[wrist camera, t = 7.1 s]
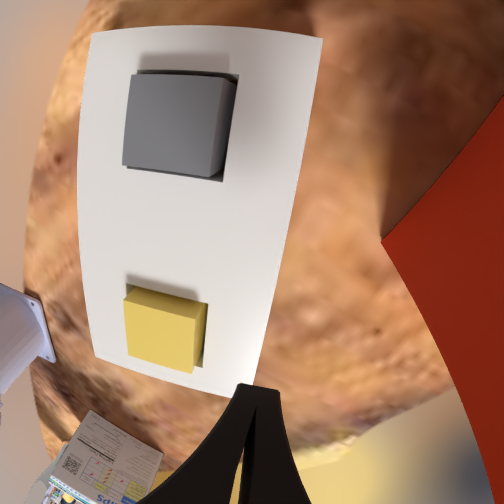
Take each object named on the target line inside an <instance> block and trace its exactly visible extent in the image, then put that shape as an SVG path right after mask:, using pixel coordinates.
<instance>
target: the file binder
mask: <svg viewBox="0 0 504 504" xmlns="http://www.w3.org/2000/svg"><path fill="white" fill-rule="evenodd" d="M381 244H382V246H383V247H384V249H385V250H386V252H387V254H388V255H389V257H390V259H391V260H392V262H393V264H394V266H395V267H396V269H397V271H398V272H399V274H400V276H401V278H402V279H403V281H404V283H405V285H406V287H407V288H408V290H409V292H410V294H411V296H412V297H413V299H414V301H415V303H416V305H417V307H418V309H419V311H420V313H421V314H422V316H423V318H424V320H425V322H426V324H427V326H428V328H429V330H430V332H431V334H432V336H433V338H434V340H435V342H436V344H437V346H438V349H439V351H440V353H441V355H442V357H443V359H444V361H445V364H446V366H447V368H448V370H449V373H450V375H451V377H452V379H453V382H454V384H455V386H456V389H457V391H458V394H459V396H460V398H461V401H462V403H463V406H464V408H465V411H466V414H467V416H468V419H469V421H470V424H471V427H472V430H473V432H474V435H475V438H476V441H477V444H478V447H479V450H480V453H481V456H482V459H483V462H484V466H485V469H486V472H487V476H488V479H489V483H490V486H491V490H492V494H493V498H494V502H495V504H504V96H503V97H502V98H501V100H500V101H499V103H498V104H497V105H496V107H495V108H494V109H493V111H492V112H491V114H490V115H489V116H488V118H487V119H486V120H485V122H484V123H483V124H482V125H481V127H480V128H479V129H478V131H477V132H476V133H475V135H474V136H473V137H472V138H471V140H470V141H469V142H468V143H467V145H466V146H465V147H464V148H463V150H462V151H461V152H460V153H459V155H458V156H457V157H456V158H455V160H454V161H453V162H452V163H451V164H450V166H449V167H448V168H447V169H446V170H445V172H444V173H443V174H442V175H441V176H440V177H439V179H438V180H437V181H436V182H435V183H434V184H433V186H432V187H431V188H430V189H429V190H428V191H427V192H426V194H425V195H424V196H423V197H422V198H421V199H420V200H419V201H418V203H417V204H416V205H415V206H414V207H413V208H412V209H411V210H410V211H409V212H408V214H407V215H406V216H405V217H404V218H403V219H402V220H401V221H400V222H399V223H398V224H397V225H396V227H395V228H394V229H393V230H392V231H391V232H390V233H389V234H388V235H387V236H386V237H385V238H384V239H383V240H382V241H381Z"/></svg>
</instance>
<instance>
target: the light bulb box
mask: <svg viewBox="0 0 504 504" xmlns="http://www.w3.org/2000/svg"><path fill="white" fill-rule="evenodd" d="M163 457H164V453H161V452H159V451H157V450H155V449H154V448H152V447H150V446H148V445H146V444H145V443H143V442H141V441H139V440H138V439H136V438H134V437H133V436H131V435H129V434H128V433H126V432H124V431H123V430H121V429H119V428H118V427H116V426H115V425H113V424H112V423H110V422H108V421H107V420H105V419H104V418H102V417H101V416H99V415H98V414H96V413H95V412H94V411H92V410H89V412H88V413H87V415H86V416H85V418H84V419H83V421H82V422H81V424H80V425H79V427H78V428H77V430H76V432H75V433H74V435H73V436H72V438H71V440H70V441H69V443H68V445H67V447H66V448H65V450H64V452H63V454H62V455H61V457H60V459H59V461H58V462H57V464H56V466H55V468H54V470H53V472H52V474H51V476H50V479H49V483H50V484H51V485H53V486H55V487H56V488H58V489H59V490H61V491H62V492H64V493H66V494H67V495H69V496H71V497H72V498H74V499H75V500H77V501H79V502H80V503H82V504H135V503H137V502H138V501H139V500H141V499H142V498H144V497H145V496H146V495H148V494H149V493H150V490H151V487H152V485H153V482H154V479H155V477H156V474H157V472H158V469H159V467H160V464H161V462H162V459H163Z"/></svg>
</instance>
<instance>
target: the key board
mask: <svg viewBox="0 0 504 504" xmlns="http://www.w3.org/2000/svg"><path fill="white" fill-rule="evenodd" d="M322 43H323V38H318V37H312V36H307V35H301V34H295V33H289V32H282V31H274V30H266V29H257V28H246V27H233V26H213V25H170V26H150V27H137V28H126V29H117V30H109V31H102V32H96V33H92V38H91V43H90V48H89V54H88V59H87V65H86V72H85V78H84V86H83V94H82V102H81V112H80V124H79V138H78V160H77V210H78V232H79V247H80V259H81V269H82V279H83V287H84V295H85V302H86V308H87V315H88V321H89V327H90V332H91V338H92V343H93V348H94V353H95V357H98V358H100V359H103V360H106V361H108V362H111V363H114V364H116V365H119V366H122V367H125V368H128V369H131V370H133V371H136V372H139V373H142V374H145V375H149V376H152V377H155V378H158V379H161V380H165V381H168V382H171V383H175V384H178V385H182V386H185V387H189V388H193V389H197V390H200V391H204V392H208V393H212V394H216V395H221V396H225V397H229V398H232V396H233V394H234V392H235V390H236V387H237V384H239V383H244V384H249V385H252V384H253V380H254V376H255V372H256V368H257V364H258V360H259V356H260V352H261V347H262V343H263V339H264V335H265V330H266V326H267V322H268V318H269V313H270V309H271V304H272V300H273V296H274V291H275V287H276V282H277V278H278V273H279V269H280V264H281V259H282V255H283V250H284V245H285V241H286V236H287V231H288V226H289V222H290V217H291V212H292V207H293V202H294V197H295V192H296V187H297V182H298V177H299V172H300V167H301V162H302V156H303V151H304V146H305V140H306V135H307V130H308V124H309V119H310V113H311V108H312V102H313V96H314V91H315V85H316V79H317V73H318V67H319V61H320V55H321V49H322ZM134 74H165V75H192V76H208V77H220V78H225V79H226V80H232V81H238V86H237V92H236V98H235V105H234V111H233V117H232V124H231V130H230V137H229V144H228V150H227V157H226V164H225V171H221V170H220V171H218V172H217V173H215V174H213V175H212V176H210V177H204V176H198V175H191V174H184V173H178V172H171V171H163V170H156V169H148V168H140V167H132V166H123V165H122V154H123V141H124V130H125V120H126V111H127V102H128V94H129V87H130V80H131V75H134ZM135 286H139V287H143V288H147V289H151V290H154V291H158V292H162V293H166V294H170V295H174V296H178V297H182V298H186V299H191V300H195V301H199V302H203V303H208V314H207V324H206V335H205V343H204V347H203V349H202V352H201V354H200V356H199V359H198V361H197V364H196V366H195V368H194V371H193V373H192V374H189V373H185V372H182V371H178V370H174V369H171V368H167V367H164V366H161V365H157V364H154V363H151V362H148V361H145V360H141V359H138V358H135V357H132V356H129V355H128V348H127V339H126V330H125V319H124V307H123V299H124V298H125V297H126V296H127V295H128V294H129V293H130V292H131V291H132V289H133V288H134V287H135Z"/></svg>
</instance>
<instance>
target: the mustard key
mask: <svg viewBox="0 0 504 504" xmlns="http://www.w3.org/2000/svg"><path fill="white" fill-rule="evenodd" d="M123 307H124V319H125V330H126V339H127V348H128V355H129V356H132V357H135V358H138V359H141V360H145V361H148V362H151V363H154V364H157V365H161V366H164V367H167V368H171V369H174V370H178V371H182V372H185V373H189V374H192V373H193V371H194V368H195V366H196V364H197V361H198V359H199V356H200V354H201V352H202V349H203V347H204V343H205V332H206V321H207V311H208V303H203V302H199V301H195V300H191V299H186V298H182V297H178V296H174V295H170V294H166V293H162V292H158V291H154V290H151V289H147V288H143V287H139V286H135V287H134V288H133V289H132V291H131V292H130V293H129V294H128V295H127V296H126V297H125V298H124V299H123Z"/></svg>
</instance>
